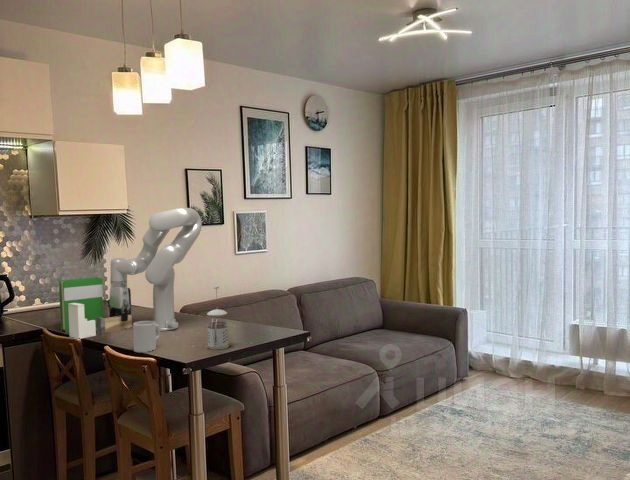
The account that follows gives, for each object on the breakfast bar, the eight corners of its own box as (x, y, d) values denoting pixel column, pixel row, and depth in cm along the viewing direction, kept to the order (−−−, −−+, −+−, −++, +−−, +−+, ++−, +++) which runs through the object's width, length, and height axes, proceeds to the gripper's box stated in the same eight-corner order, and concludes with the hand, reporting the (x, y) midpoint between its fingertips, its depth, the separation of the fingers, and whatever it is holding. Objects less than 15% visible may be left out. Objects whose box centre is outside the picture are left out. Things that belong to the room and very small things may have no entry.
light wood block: (131, 327, 262) (131, 312, 262) (101, 333, 249) (100, 318, 249) (127, 326, 265) (126, 311, 264) (96, 332, 252) (96, 317, 252)
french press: (232, 343, 224) (230, 283, 223) (226, 351, 212) (225, 287, 211) (208, 344, 224) (207, 284, 223) (201, 351, 213) (200, 287, 211)
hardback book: (65, 332, 253) (63, 281, 252) (60, 330, 258) (58, 280, 257) (103, 327, 264) (102, 278, 263) (98, 325, 270) (96, 277, 269)
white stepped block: (95, 335, 245) (94, 302, 244) (79, 339, 239) (77, 305, 238) (86, 333, 250) (85, 301, 249) (69, 336, 244) (68, 303, 243)
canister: (134, 319, 283) (133, 285, 283) (126, 322, 274) (125, 287, 273) (117, 319, 284) (116, 285, 284) (108, 322, 275) (107, 287, 274)
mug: (144, 353, 211) (143, 325, 210) (129, 351, 215) (128, 323, 214) (167, 346, 221) (166, 320, 221) (152, 344, 225) (151, 318, 225)
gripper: (136, 285, 257) (136, 321, 257) (115, 281, 267) (115, 316, 268) (122, 286, 251) (122, 323, 251) (101, 283, 261) (101, 318, 262)
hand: (118, 319), depth 260 cm, fingers open, 9 cm apart
